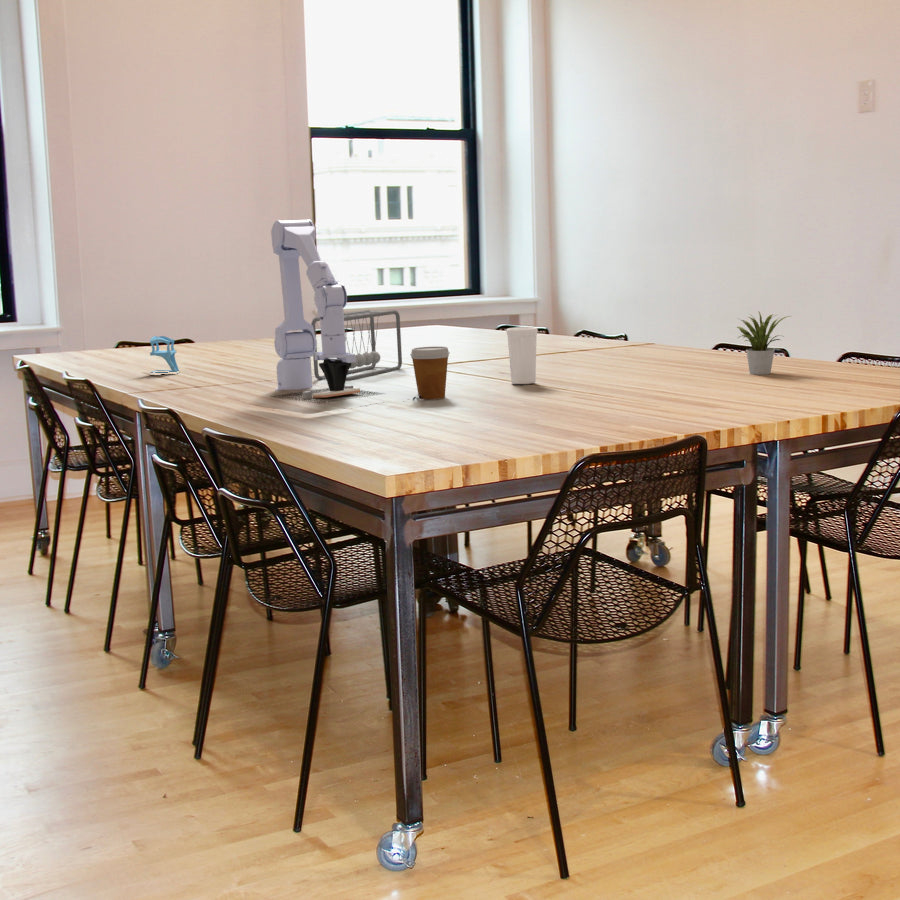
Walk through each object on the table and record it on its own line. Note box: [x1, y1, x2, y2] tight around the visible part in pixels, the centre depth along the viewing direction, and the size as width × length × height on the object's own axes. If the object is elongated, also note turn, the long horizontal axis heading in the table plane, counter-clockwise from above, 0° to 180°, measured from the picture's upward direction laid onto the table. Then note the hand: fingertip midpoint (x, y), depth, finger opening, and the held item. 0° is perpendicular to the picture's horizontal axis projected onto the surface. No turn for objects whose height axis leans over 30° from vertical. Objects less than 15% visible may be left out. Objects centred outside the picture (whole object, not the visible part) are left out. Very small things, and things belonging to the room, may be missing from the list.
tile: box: [312, 387, 361, 399], centre depth 270 cm, size 1×10×6 cm
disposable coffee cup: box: [409, 346, 450, 401], centre depth 266 cm, size 10×10×12 cm
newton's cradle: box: [310, 309, 403, 382], centre depth 320 cm, size 30×10×18 cm, turn 150°
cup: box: [506, 326, 539, 385], centre depth 284 cm, size 8×8×14 cm
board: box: [270, 384, 386, 404], centre depth 273 cm, size 22×20×3 cm
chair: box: [149, 335, 180, 373], centre depth 343 cm, size 8×8×12 cm
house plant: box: [736, 311, 791, 376], centre depth 285 cm, size 14×14×16 cm
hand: (336, 391), depth 269 cm, fingers closed
